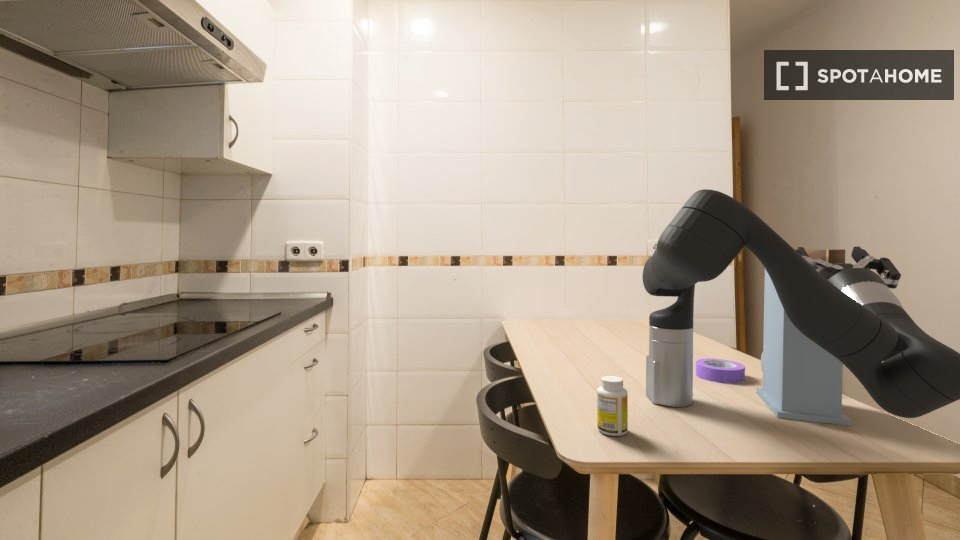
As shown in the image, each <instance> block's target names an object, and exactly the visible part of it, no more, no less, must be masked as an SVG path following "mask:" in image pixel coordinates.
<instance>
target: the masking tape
mask: <svg viewBox="0 0 960 540" xmlns="http://www.w3.org/2000/svg"><path fill="white" fill-rule="evenodd" d="M745 373H746V367H745V365H744V364H742V363H741V362H738V361H733V360H730V359H725V358H724V359H723V358H711V357H710V358H707V357H706V358H700V359H697V360H696V361H695V376H696V377H698V378H700V379H703V380H704V381H705V380H706V381H708V380H709V381H710V382H715V383H721V384H740V383H743V382H745V379H746V376H745V375H746V374H745Z"/></svg>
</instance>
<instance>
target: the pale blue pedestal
mask: <svg viewBox="0 0 960 540" xmlns="http://www.w3.org/2000/svg"><path fill="white" fill-rule="evenodd" d="M845 263H846V262H845ZM845 263H835V264H845ZM822 269H823V267H821V266H820V269H819V272H820V271H821V270H822ZM763 292H764V295H763V300H764V301H763V344H762V346H763V351H762V353H763V372H762V388H756V395H757V396H759V398H760V399H761V400H762V402H764V404H765V405H766V406H767V407H768V409H769V410H770V411H771V412H772V413H773V414H774V415H775V417H776V418H777V419H785V420H793V421H794V420H795V421H796V420H797V421H805V422H813V423H821V424H822V423H823V424H825V423H826V424H832V425H833V424H834V425H842V426H843V425H844V426H851V419H850V418H849V417H848V416H846V415H845V414H844V413H843V411H842V409H843V408H842V407H843V406H842V405H843V404H842V403H843V402H842V401H843V376H844V375H843V372H844V371H843V368H844V364H843V363H842V362H841V361H839V360H838V359H837V358H836V357H834V356H833V355H832V354H830V353H829V352H827V351H826V350H824V349H823V348H822V347H820V346H819V345H817V344H816V343H814V342H813V341H812V340H810V339H809V338H807V337H806V336H805V335H804V334H802V333H801V332H800V331H799V330H798V329H797V328H796V327H795V326H794V325H793V323H792V322H791V321H790V319H789V318H788V316H787V314H786V312H785V311H784V308H783V306H782V304H781V302H780V299H779V297H778V294H777V292H776V289H775V287H774V285H773V283H772V280H771V278H770V276H769V274H768V273H767V271H766V269H765V268H764V291H763Z"/></svg>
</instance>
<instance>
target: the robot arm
mask: <svg viewBox="0 0 960 540" xmlns="http://www.w3.org/2000/svg"><path fill="white" fill-rule="evenodd" d="M744 247H745V248H746V249H748V250H749V251H750V252H751V253H752V254H753V255H754V256H755V257H756V259H758V261H760V263H761V265H762V267H764V270H765V269H766V271H767V273H768V274H769V276H770V278H771V280H772V283H773V285H774V287H775V289H776V292H777V294H778V297H779V299H780V302H781V304H782V306H783V308H784V311H785V312H786V314H787V316H788V318H789V319H790V321H791V322H792V323H793V325H794V326H795V327H796V328H797V329H798V330H799V331H800V332H801V333H802V334H804V335H805V336H806V337H807V338H809V339H810V340H812V341H813V342H814V343H816V344H817V345H819V346H820V347H822V348H823V349H824V350H826V351H827V352H829V353H830V354H832V355H833V356H834V357H836V358H837V359H838V360H839V361H841V362H842V363H843V366H845V368H846V369H847V370H848V371H850V372H851V373H852V375H854V376H855V378H856V379H857V380H858V381H859V382H860V384H861V385H862V387H863V388H864V389H865V390H866V392H867V393H868V394H869V396H870V397H871V399H872V400H873V401H875V404H877V405H878V407H880V408H881V409H882V410H883V411H886V412H887V413H889V414H891V415H893V416H897V417H899V418H905V419H917V418H920V417H922V416H924V415H927V414H929V413H931V412H934V411H936V410H938V409H940V408H941V409H942V408H944V407H946V406H947V405H950V404H953V403H954V402H957V401H959V400H960V352H958V351H957V350H955V349H953V348H952V347H950V346H948V345H946V344H944V343H942V342H941V341H939V340H937V339H936V338H934V337H933V336H931V335H929V334H927V333H926V332H925V331H924V330H923V329H922V328H921V327H919V325H918V324H917V323H916V322H915V321H914V320H913V318H912V317H911V316H910V315H909V314H908V313H907V311H906V309H904V307H903V305H902V303H901V301H900V299H899V298H898V297H897V295H896V294H895V293H894V292H893V291H892V290H891V289H897V287H898V284H899V283H900V279H901V276H902V274H901V272H900V271H899V269H897V267H896V266H895V265H894V263H893V262H892V261H891V259H890V258H888V257H880V258H878V259H877V258H876V257H875V256H873V255H870V254H869V253H868V252H867V250H865V249H863V248H861V246H853V248H852V251H851V258H852V259H853V261H855V263H856V264H852V263H847V262H845V264H835V263H828V262H826V261H823V260H821V259H817V260H814V259H812V258H809V256H808V254H807V252H806V251H805V250H806V249H805V248H804V246H798V247H797V249H795V248H793V247H792V245H790V244H789V243H788V242H787V241H786V240H785V239H784V238H782V237H781V235H779V234H778V233H777V232H776V231H775V230H774V229H773V228H772V227H770V226H769V224H767V223H766V222H765V221H764V220H763V219H762V218H760V216H758V215H757V214H756V213H755V212H754V211H753V210H751V209H750V208H749V207H747V206H746V205H745V204H743V203H742V202H740V201H739V200H738V199H735V198H734V197H732V196H730V195H728V194H726V193H724V192H721V191H719V190H714V189H707V188H706V189H699V190H697V191H695V192H694V193H692V195H690V197H689V198H688V199H687V200H686V202H685V203H684V204H683V206H682V207H681V208H680V209H679V210H678V212H677V213H676V214H675V216H674V217H673V218H672V220H671V221H670V222H669V223H668V225H667V226H666V227H665V229H664V230H663V231H662V233H661V234H660V236H659V238H658V240H657V243H656V248H655V250H654V251H653V254H652V256H649V257H648V258H647V260H646V261H645V263H644V265H643V271H642V284H643V287H644V290H645V291H646V292H647V294H649V295H650V296H654V297H672V298H673V297H677V299H676V301H675V302H674V303H672V304H671V305H669V306H667V307H665V308H662V309H659V310H655V311H652V312H651V313H650V314H649V318H648V320H649V321H648V324H649V325H648V326H649V327H648V330H649V332H648V355H646V357H645V358H646V361H645V362H646V363H645V396H646V397H647V398H648V399H649V400H650V401H651V403H653V404H654V405H662V406H667V407H675V408H676V407H679V408H684V407H689V406H691V405H693V396H694V394H693V393H694V392H693V389H694V387H693V383H694V382H693V381H694V379H693V377H694V373H693V372H694V311H695V310H694V305H695V304H694V303H695V290H696V289H695V287H696V284H697V283H699V282H700V283H703V282H710V281H712V280H714V279H717V278H718V277H720V275H721V274H723V273H724V272H725V270H726V269H727V268H728V267H729V266H730V265H731V264H732V262H734V260H735V259H736V257H737V256H738V255H739V253H740V252H741V251H742V250H743V249H744ZM820 266H821V267H823V269H822V270H821V271H820V272H819V269H820ZM873 270H874V271H873ZM875 271H876V272H875Z"/></svg>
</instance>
